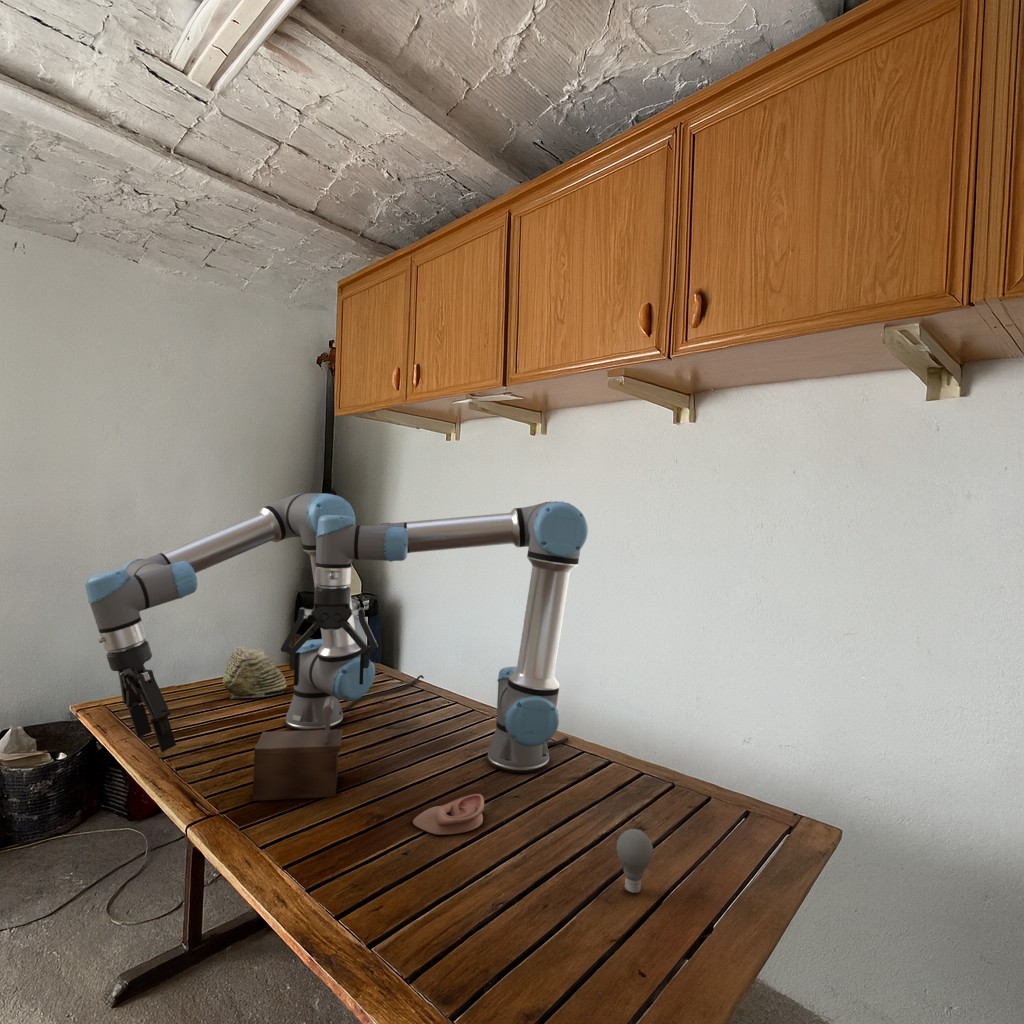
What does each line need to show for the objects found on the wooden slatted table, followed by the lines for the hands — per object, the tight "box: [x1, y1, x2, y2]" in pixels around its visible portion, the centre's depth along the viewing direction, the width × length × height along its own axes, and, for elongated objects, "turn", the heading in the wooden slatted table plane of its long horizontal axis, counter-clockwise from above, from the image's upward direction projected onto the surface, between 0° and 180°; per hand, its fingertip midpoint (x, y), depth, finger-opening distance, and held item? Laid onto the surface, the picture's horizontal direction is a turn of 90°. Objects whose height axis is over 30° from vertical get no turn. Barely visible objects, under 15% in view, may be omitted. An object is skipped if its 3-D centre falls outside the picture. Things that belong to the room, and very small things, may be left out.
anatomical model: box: [412, 793, 485, 836], centre depth 126 cm, size 13×4×12 cm
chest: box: [252, 752, 340, 802], centre depth 137 cm, size 16×10×10 cm, turn 102°
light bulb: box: [615, 828, 654, 894], centre depth 106 cm, size 6×6×10 cm
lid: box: [253, 698, 343, 756], centre depth 137 cm, size 17×10×9 cm, turn 102°
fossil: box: [222, 646, 288, 699], centre depth 198 cm, size 9×18×15 cm, turn 132°
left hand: (156, 741), depth 132 cm, fingers open, 13 cm apart
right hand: (329, 683), depth 138 cm, fingers open, 13 cm apart
